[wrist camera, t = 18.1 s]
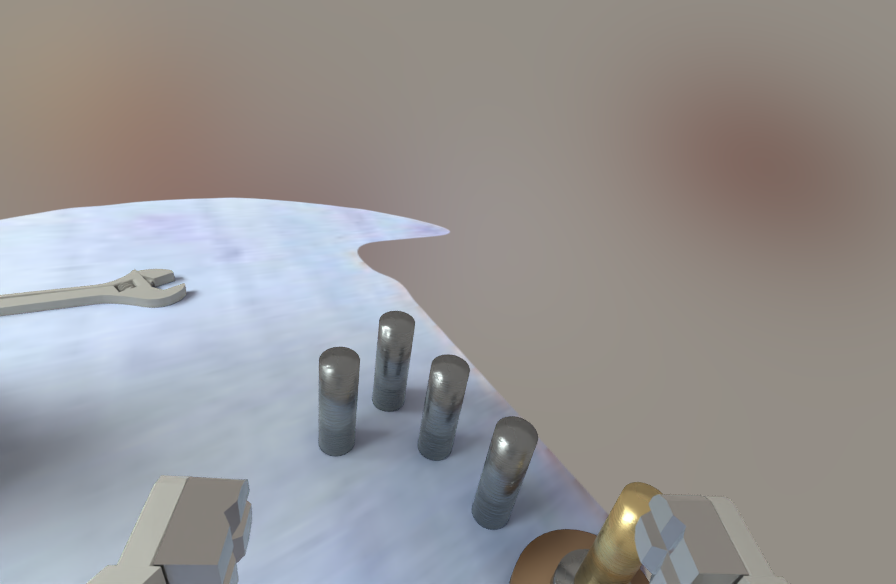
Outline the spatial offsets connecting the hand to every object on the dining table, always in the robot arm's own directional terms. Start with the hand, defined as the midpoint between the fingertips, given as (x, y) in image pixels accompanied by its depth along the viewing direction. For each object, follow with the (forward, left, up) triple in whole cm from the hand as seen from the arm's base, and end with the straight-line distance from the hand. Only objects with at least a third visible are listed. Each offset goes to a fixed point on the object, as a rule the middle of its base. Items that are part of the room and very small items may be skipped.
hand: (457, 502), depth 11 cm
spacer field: (-16, +19, -30) cm, 39 cm away
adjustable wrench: (-56, +5, -31) cm, 64 cm away
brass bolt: (+3, +18, -28) cm, 34 cm away
